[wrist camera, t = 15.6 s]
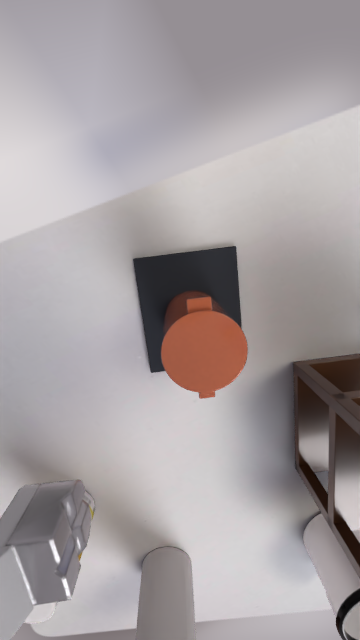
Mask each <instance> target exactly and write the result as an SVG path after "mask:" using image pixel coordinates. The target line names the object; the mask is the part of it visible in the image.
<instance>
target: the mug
mask: <svg viewBox="0 0 360 640" xmlns="http://www.w3.org/2000/svg"><path fill="white" fill-rule="evenodd" d="M352 532H353V533H354V535H355V536H356V538H357V540H358V541H359V543H360V530H355V531H352ZM303 541H304V545H305V547H306V549H307V552H308V554H309V556H310V558H311V560H312V562H313V565H314V567H315V569H316V571H317V573H318V576H319V578H320V580H321V582H322V584H323V586H324V589H325V591H326V595H327V598H328V600H329V603H330V605H331V607H332V610H333V612H334V614H335V616H336V627H337V630H338V632H339V634H340V636H341V638H342V639H343V640H360V579H359V577H358V575H357V573H356V572H355V570H354V568H353V566H352V565H351V563H350V561H349V560H348V558H347V556H346V554H345V553H344V551H343V549H342V547H341V546H340V544H339V542H338V541H337V539H336V537H335V535H334V534H333V532H332V530H331V529H330V527H329V525H328V523H327V522H326V520H325V518H324V516H323V515H322V513H320V514H319V515H317V516H316V517H314V518H313V519H312V520H311V521H310V522H309V524H308V525H307V526H306V529H305V531H304V535H303Z"/></svg>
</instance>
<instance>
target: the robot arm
mask: <svg viewBox="0 0 360 640" xmlns="http://www.w3.org/2000/svg"><path fill="white" fill-rule="evenodd" d="M84 493H85V488H84V485H83V482H82V481H81V480H71V481H60V482H50V483H43V484H35V485H25V486H23V487H22V488H21V489H19V491H18V492H17V494H16V495H15V497H14V498H13V500H12V501H11V503H10V505H9V506H8V508H7V509H6V511H5V512H4V514H3V515H2V517H1V519H0V640H11V638H12V637H13V636H14V634H15V633H16V632H17V630H18V629H19V628H20V626H21V625H22V623H23V622H24V621H25V620H26V618H27V617H28V616H29V614H30V613H31V612H32V610H33V609H34V607H33V606H35V605H41V604H47V603H53V602H59V601H66V600H71V598H72V595H73V591H74V588H75V585H76V581H77V578H78V574H79V571H80V567H81V565H80V562H79V558H78V556H79V555H80V554H81V552H82V551H83V550H84V549H85V548H86V546H87V543H88V539H89V535H90V527H91V511H90V507H89V504H88V503H87V502H86V501H84V500H83V496H84Z"/></svg>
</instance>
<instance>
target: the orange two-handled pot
mask: <svg viewBox="0 0 360 640" xmlns="http://www.w3.org/2000/svg"><path fill="white" fill-rule="evenodd" d="M247 351H248V347H247V341H246V338H245V335H244V333H243V331H242V329H241V328H240V327H239V325H238V324H237V323H236V322H235V321H234V320H233V319H232V318H231V317H230V316H229V314H228V313H227V312H226V311H225V310H224V309H223V308H222V307H221V306H220V305H219V304H218V303H217V302H216V301H215V300H214V299H213V298H212V297H211V296H210V295H208V294H206V293H204V292H202V291H196V290H190V291H185V292H182V293H180V294H178V295H177V296H176V297H174V298H173V299H172V300H171V301H170V303H169V304H168V306H167V308H166V311H165V318H164V327H163V337H162V346H161V359H162V363H163V366H164V369H165V371H166V372H167V374H168V375H169V377H170V378H171V379H172V380H173V381H174V382H175V383H176V384H178V385H179V386H181V387H183V388H185V389H187V390H190V391H194V392H198V393H199V398H200V399H201V398H209V397H215V391H216V390H219V389H221V388H224V387H225V386H227V385H229V384H230V383H231V382H233V381H234V380H235V379H236V378H237V377H238V375H239V374H240V373H241V371H242V369H243V367H244V365H245V363H246V359H247Z"/></svg>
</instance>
